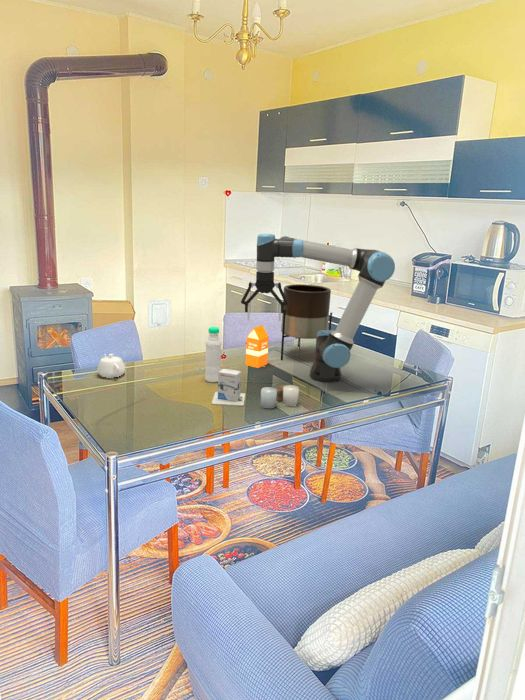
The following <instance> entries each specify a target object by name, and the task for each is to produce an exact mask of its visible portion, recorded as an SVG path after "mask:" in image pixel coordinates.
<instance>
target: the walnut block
mask: <svg viewBox="0 0 525 700" xmlns="http://www.w3.org/2000/svg"><path fill="white" fill-rule="evenodd" d="M284 386H285V385H277V386H272V388H275V389H276V390H277V396H276V402H277V401H280V402H283V387H284Z"/></svg>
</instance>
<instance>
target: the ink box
mask: <svg viewBox="0 0 525 700" xmlns="http://www.w3.org/2000/svg"><path fill="white" fill-rule="evenodd" d="M241 382H242V371H240V370H236V369H235V370H234V369H228V368H221V370H220V371H219V372H218V382H217V392H218V398H219V399H225V400H231V401H237V400H238V399H240V393H241V385H242V383H241Z"/></svg>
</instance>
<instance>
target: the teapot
mask: <svg viewBox="0 0 525 700" xmlns="http://www.w3.org/2000/svg"><path fill="white" fill-rule="evenodd" d="M96 370H97V373H98V375H99V376H101V377H102V376H103V377H109V378H110V377H111V378H112V379H114V378H113V377H118V378H120V377H122V376H123V375H124V373H125V372H126V365H125V363H124V361H123V359H122V358H121V357H120V356H114V354H113V353H109V354H108V356H107V354H106V353H103V357H102V358H101V359H100V360H99V362H98V365H97V369H96ZM121 375H122V376H121ZM119 376H120V377H119ZM103 377H102V378H103Z"/></svg>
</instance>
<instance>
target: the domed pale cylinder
mask: <svg viewBox="0 0 525 700" xmlns="http://www.w3.org/2000/svg"><path fill="white" fill-rule="evenodd" d="M272 387H273V386H272ZM272 387H270V386H268V387H267V386H265V387H262V388H261V389H260V402H259V403H260V405H259V407H260V408H262V409H264V408H273V409H275V408H276V407H277V401H276V396H277V390H276V389H275V388H272ZM274 407H275V408H274Z"/></svg>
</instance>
